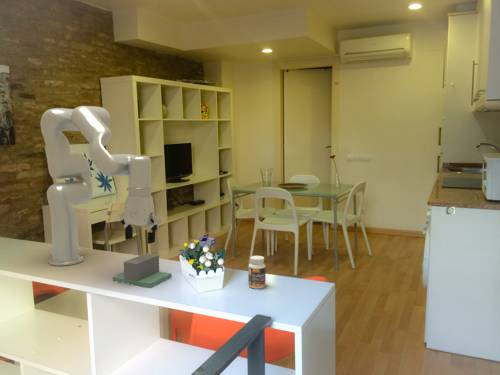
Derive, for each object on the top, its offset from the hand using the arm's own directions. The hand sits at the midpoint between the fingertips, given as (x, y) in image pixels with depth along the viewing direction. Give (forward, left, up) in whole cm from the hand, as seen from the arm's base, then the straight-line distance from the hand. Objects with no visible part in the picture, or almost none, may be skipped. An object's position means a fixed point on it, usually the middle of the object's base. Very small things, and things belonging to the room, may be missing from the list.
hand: (140, 240), depth 153 cm
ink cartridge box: (+16, +16, -14) cm, 26 cm away
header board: (+1, 0, -14) cm, 14 cm away
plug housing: (+1, 0, -12) cm, 12 cm away
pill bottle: (+40, +11, -14) cm, 44 cm away
